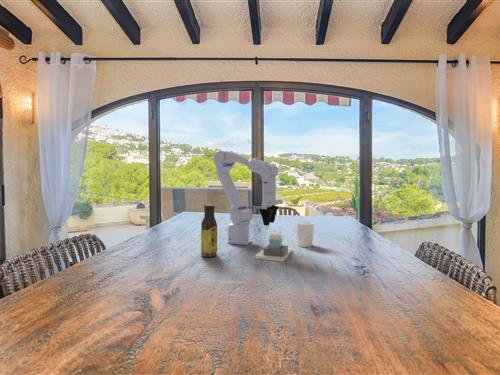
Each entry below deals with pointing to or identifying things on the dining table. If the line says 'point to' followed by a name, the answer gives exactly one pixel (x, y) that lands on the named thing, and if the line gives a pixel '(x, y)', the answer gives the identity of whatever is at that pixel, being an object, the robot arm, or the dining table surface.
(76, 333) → the dining table surface
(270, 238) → the block
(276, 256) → the outlet plate
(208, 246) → the sauce bottle
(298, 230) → the white cup
